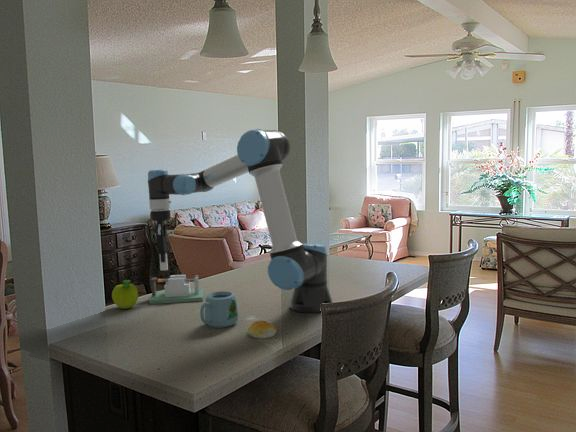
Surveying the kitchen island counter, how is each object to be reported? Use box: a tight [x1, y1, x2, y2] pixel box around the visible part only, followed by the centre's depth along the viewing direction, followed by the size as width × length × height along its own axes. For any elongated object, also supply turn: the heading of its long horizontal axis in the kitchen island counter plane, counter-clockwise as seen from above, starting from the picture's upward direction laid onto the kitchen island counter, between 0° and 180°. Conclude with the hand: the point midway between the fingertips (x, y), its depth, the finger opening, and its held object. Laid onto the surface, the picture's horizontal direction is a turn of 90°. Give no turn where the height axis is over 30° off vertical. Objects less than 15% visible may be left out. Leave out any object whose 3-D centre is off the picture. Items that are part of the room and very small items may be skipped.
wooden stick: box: [156, 278, 195, 283], centre depth 203 cm, size 16×2×1 cm, turn 95°
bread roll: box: [247, 320, 278, 340], centre depth 160 cm, size 8×9×4 cm
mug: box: [199, 291, 239, 329], centre depth 169 cm, size 15×11×10 cm
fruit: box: [111, 279, 139, 310], centre depth 192 cm, size 9×9×10 cm
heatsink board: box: [148, 274, 206, 305], centre depth 204 cm, size 20×13×8 cm, turn 95°
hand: (164, 269), depth 202 cm, fingers closed
